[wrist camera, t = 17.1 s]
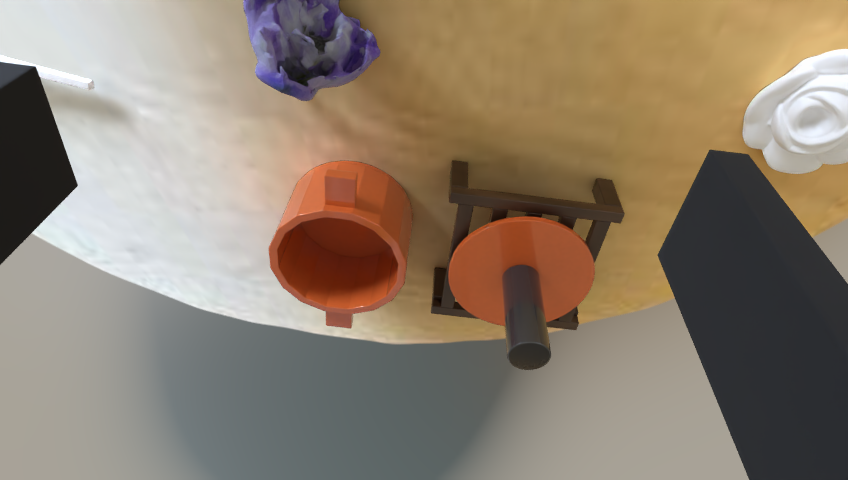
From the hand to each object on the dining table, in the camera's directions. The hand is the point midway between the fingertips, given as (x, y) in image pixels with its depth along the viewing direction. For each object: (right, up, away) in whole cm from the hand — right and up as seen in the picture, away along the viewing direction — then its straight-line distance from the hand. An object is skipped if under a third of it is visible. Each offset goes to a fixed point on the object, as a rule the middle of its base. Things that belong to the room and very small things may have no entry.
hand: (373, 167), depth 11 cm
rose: (+31, +9, +32) cm, 45 cm away
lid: (+9, -4, +37) cm, 38 cm away
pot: (-6, +1, +41) cm, 41 cm away
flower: (-7, +14, +30) cm, 34 cm away
